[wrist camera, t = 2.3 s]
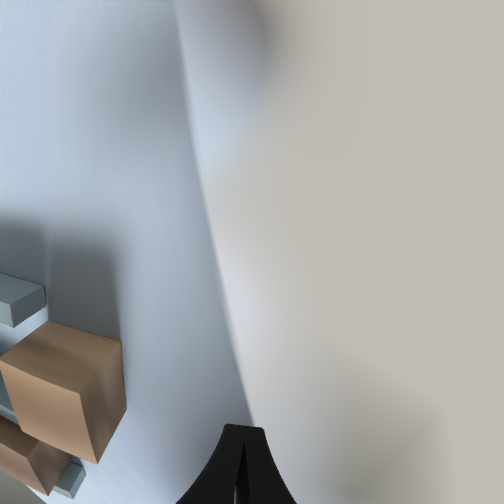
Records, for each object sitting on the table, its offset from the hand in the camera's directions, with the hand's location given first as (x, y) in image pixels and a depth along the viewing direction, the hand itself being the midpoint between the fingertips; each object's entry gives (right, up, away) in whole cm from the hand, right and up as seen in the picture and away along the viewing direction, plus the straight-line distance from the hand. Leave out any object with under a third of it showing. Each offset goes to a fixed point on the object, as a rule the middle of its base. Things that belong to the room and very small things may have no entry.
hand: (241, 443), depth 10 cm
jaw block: (-7, +2, +3) cm, 8 cm away
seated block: (-13, -4, +4) cm, 14 cm away
